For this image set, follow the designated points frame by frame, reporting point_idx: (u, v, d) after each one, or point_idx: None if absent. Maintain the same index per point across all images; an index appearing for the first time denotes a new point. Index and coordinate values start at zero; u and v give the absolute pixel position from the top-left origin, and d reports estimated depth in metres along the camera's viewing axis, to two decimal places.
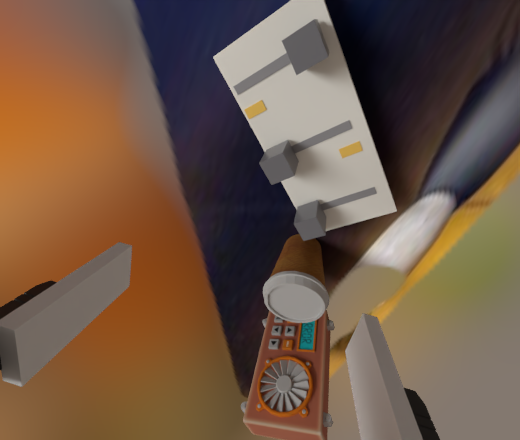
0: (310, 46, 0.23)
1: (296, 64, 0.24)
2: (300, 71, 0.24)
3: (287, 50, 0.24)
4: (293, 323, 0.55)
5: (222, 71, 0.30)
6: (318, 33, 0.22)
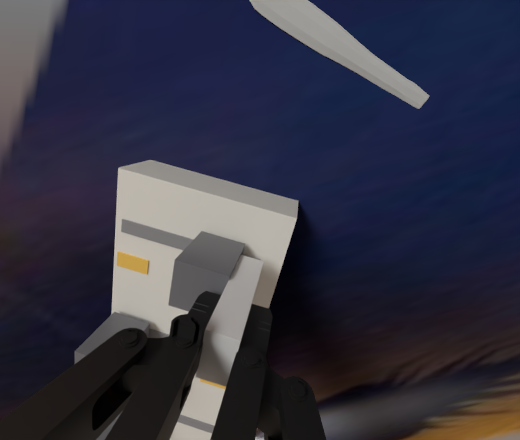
0: None
1: (175, 295, 0.15)
2: (175, 305, 0.15)
3: (174, 274, 0.14)
4: None
5: (119, 192, 0.18)
6: None
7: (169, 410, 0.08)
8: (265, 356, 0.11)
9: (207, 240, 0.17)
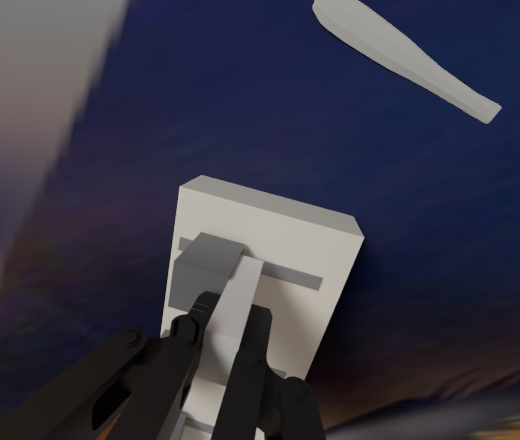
0: None
1: (175, 297, 0.15)
2: (175, 307, 0.15)
3: (174, 275, 0.14)
4: None
5: (179, 210, 0.18)
6: None
7: (169, 410, 0.08)
8: (265, 356, 0.11)
9: (206, 241, 0.17)
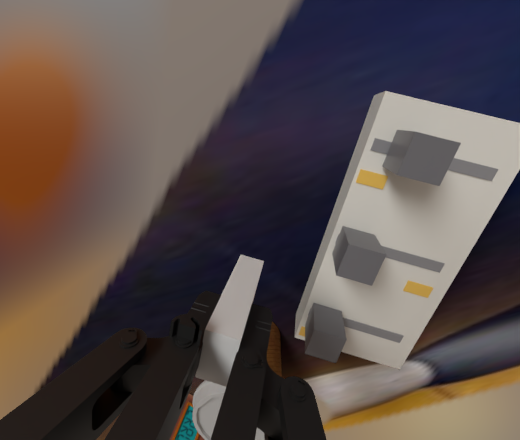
0: (435, 162, 0.18)
1: (406, 165, 0.19)
2: (403, 175, 0.19)
3: (411, 145, 0.18)
4: None
5: (379, 113, 0.22)
6: (451, 158, 0.18)
7: (169, 410, 0.08)
8: (265, 356, 0.11)
9: None
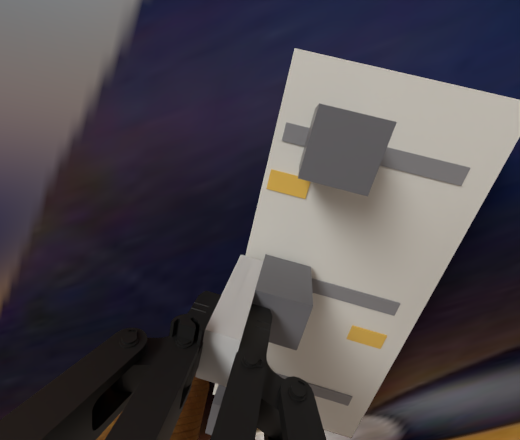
0: (357, 156, 0.11)
1: (311, 162, 0.11)
2: (308, 178, 0.11)
3: (315, 127, 0.11)
4: None
5: (289, 84, 0.14)
6: (383, 149, 0.11)
7: (169, 410, 0.08)
8: (265, 356, 0.11)
9: None
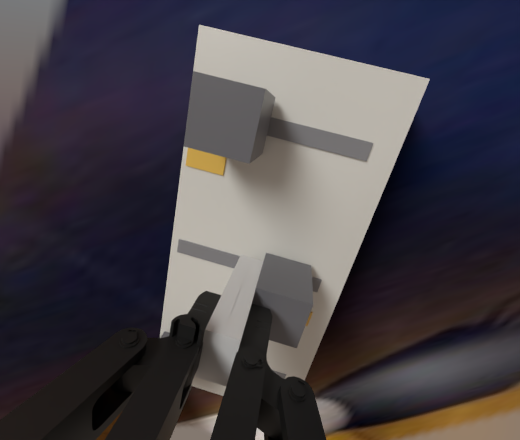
0: (234, 124, 0.11)
1: (194, 130, 0.12)
2: (193, 146, 0.12)
3: (193, 95, 0.11)
4: None
5: (197, 60, 0.15)
6: (257, 116, 0.11)
7: (169, 410, 0.08)
8: (265, 356, 0.11)
9: None
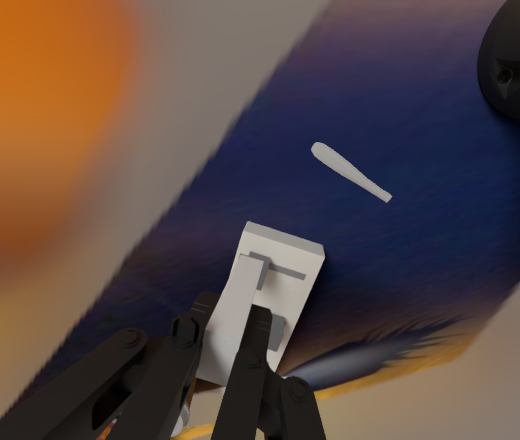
0: None
1: None
2: None
3: None
4: None
5: (241, 241, 0.39)
6: (264, 278, 0.35)
7: (169, 410, 0.08)
8: (265, 356, 0.11)
9: (254, 256, 0.38)
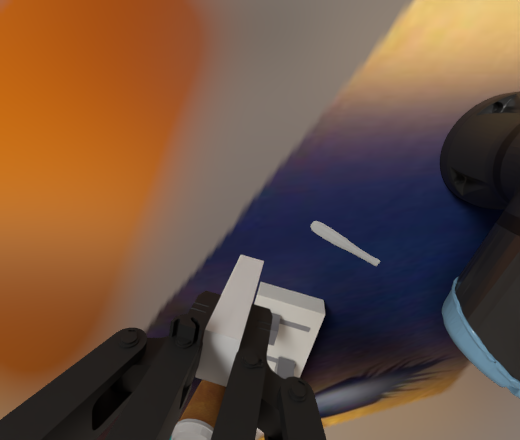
0: (269, 337, 0.44)
1: None
2: None
3: None
4: None
5: (256, 302, 0.47)
6: (276, 336, 0.44)
7: (169, 410, 0.08)
8: (265, 356, 0.11)
9: None
